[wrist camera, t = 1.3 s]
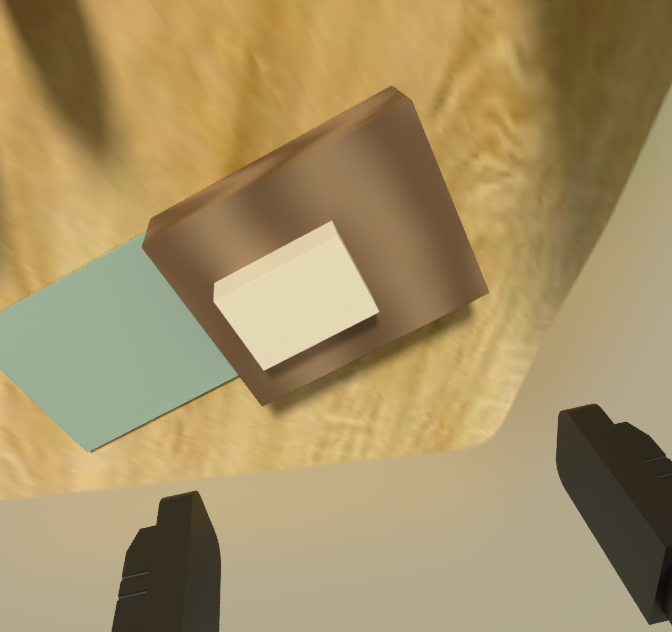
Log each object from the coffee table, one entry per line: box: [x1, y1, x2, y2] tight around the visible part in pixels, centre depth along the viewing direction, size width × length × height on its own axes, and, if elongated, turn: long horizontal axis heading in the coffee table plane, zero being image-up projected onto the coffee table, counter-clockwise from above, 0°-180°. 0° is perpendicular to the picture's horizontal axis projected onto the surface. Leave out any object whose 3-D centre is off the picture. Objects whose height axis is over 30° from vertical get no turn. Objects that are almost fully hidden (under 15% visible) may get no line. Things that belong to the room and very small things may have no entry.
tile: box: [213, 221, 379, 370], centre depth 31 cm, size 7×5×2 cm
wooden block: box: [142, 86, 489, 406], centre depth 34 cm, size 15×12×4 cm
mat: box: [0, 231, 238, 452], centre depth 37 cm, size 13×11×1 cm
